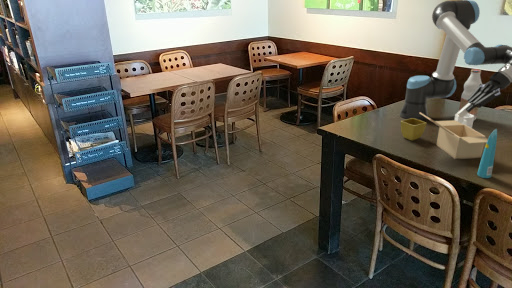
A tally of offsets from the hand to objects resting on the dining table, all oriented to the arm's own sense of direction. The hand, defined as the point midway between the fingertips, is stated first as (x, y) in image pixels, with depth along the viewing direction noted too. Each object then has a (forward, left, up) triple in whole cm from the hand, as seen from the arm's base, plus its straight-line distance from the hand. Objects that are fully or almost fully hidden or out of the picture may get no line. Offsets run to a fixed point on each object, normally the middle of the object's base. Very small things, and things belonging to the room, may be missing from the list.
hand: (459, 115), depth 167 cm
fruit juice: (+7, +55, -18) cm, 58 cm away
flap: (-3, -2, -7) cm, 8 cm away
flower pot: (-19, +10, -18) cm, 28 cm away
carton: (+2, +1, -18) cm, 18 cm away
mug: (+4, +26, -18) cm, 32 cm away
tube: (+11, -22, -18) cm, 30 cm away
